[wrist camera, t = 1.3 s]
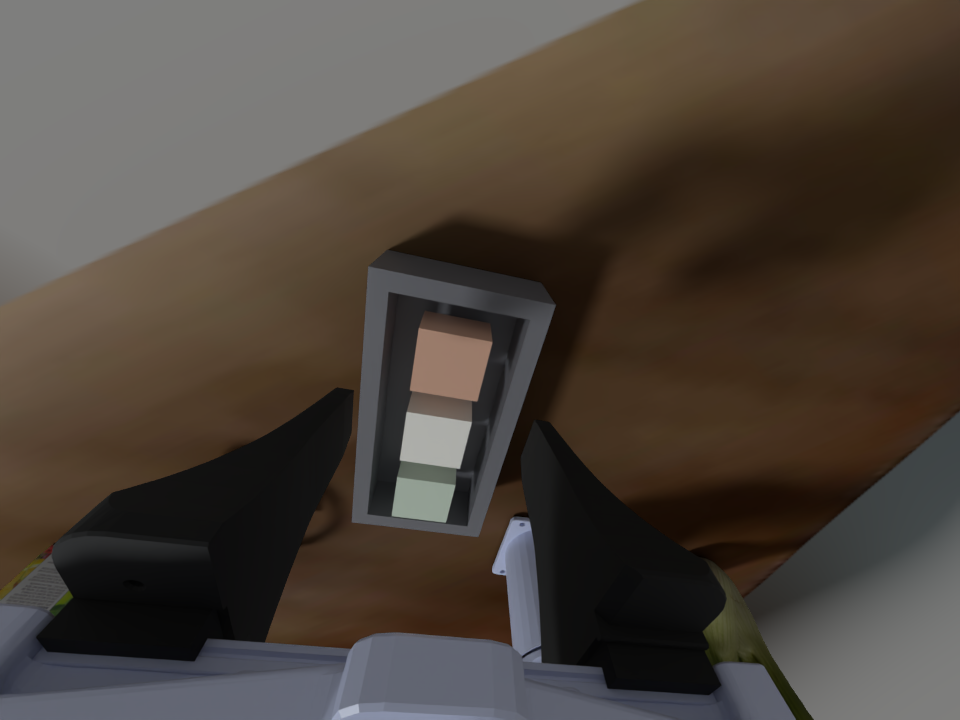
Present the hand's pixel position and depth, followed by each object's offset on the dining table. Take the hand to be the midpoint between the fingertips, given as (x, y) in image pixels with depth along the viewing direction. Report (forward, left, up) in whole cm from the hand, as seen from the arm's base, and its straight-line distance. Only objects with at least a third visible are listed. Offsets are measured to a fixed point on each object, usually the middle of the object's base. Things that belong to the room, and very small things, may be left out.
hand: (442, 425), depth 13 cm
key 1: (0, +10, -7) cm, 12 cm away
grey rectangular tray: (0, +5, -9) cm, 11 cm away
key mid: (0, +5, -7) cm, 9 cm away
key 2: (0, 0, -7) cm, 7 cm away
